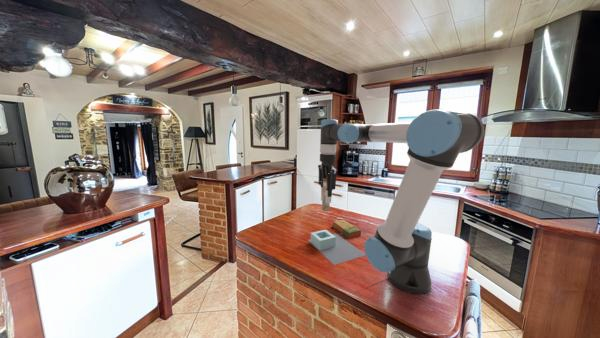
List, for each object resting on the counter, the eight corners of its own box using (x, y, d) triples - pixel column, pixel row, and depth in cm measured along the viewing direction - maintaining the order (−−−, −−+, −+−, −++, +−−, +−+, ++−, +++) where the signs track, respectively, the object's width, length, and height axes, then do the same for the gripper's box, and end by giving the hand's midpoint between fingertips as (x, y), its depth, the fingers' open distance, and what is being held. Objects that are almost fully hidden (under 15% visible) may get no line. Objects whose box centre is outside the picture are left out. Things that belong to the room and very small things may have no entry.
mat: (366, 256, 102) (366, 254, 102) (334, 266, 94) (334, 265, 94) (335, 234, 123) (335, 233, 123) (307, 241, 116) (307, 240, 115)
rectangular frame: (335, 246, 109) (335, 236, 109) (319, 250, 105) (320, 240, 105) (325, 238, 117) (325, 229, 117) (310, 241, 113) (310, 232, 113)
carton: (343, 225, 136) (343, 219, 135) (361, 237, 121) (361, 229, 121) (331, 228, 132) (332, 221, 131) (348, 240, 118) (349, 232, 117)
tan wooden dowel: (330, 210, 107) (332, 178, 104) (324, 211, 106) (325, 179, 102) (326, 208, 110) (328, 176, 107) (320, 209, 109) (321, 177, 106)
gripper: (345, 155, 97) (342, 205, 101) (325, 151, 112) (323, 195, 116) (331, 155, 94) (328, 208, 98) (312, 151, 108) (310, 197, 113)
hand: (325, 201), depth 107 cm, fingers closed on tan wooden dowel, 3 cm apart
